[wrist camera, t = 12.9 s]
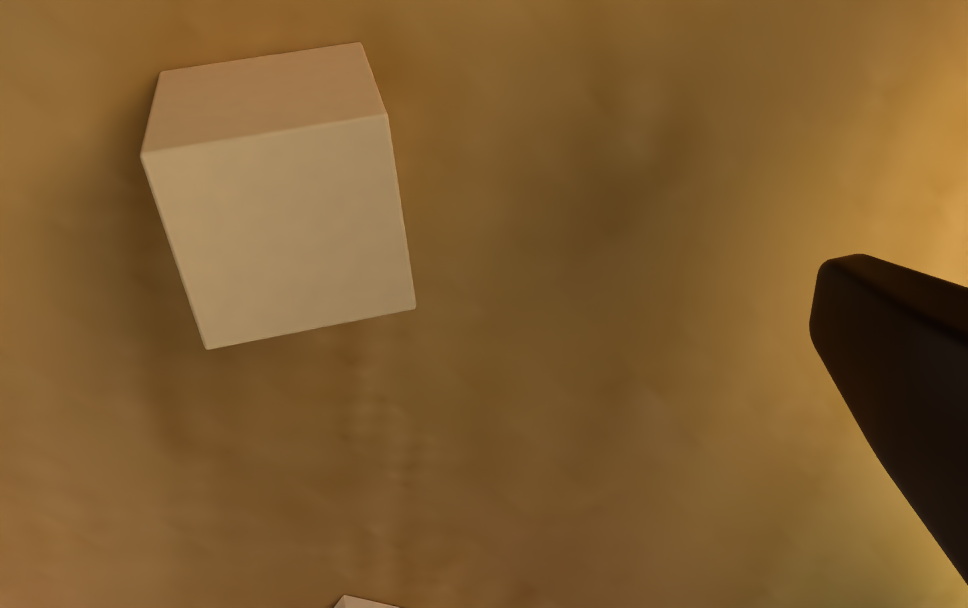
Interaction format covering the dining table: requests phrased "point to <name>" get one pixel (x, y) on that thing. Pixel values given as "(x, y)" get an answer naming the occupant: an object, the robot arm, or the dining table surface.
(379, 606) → the white cube
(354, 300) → the block
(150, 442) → the dining table surface
